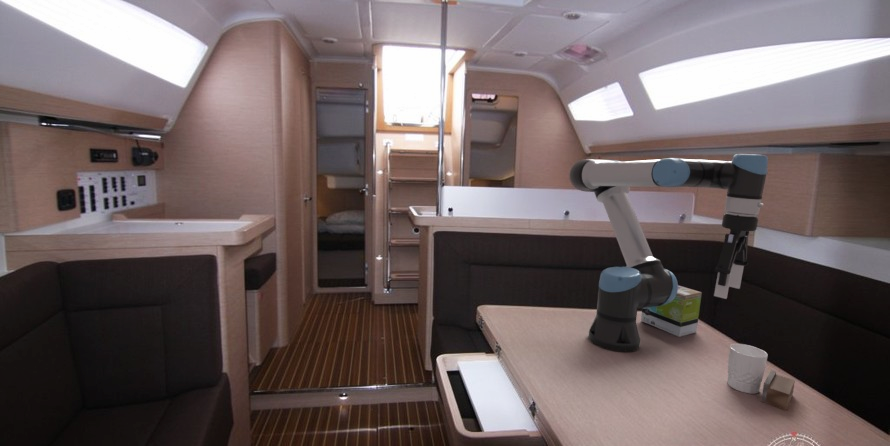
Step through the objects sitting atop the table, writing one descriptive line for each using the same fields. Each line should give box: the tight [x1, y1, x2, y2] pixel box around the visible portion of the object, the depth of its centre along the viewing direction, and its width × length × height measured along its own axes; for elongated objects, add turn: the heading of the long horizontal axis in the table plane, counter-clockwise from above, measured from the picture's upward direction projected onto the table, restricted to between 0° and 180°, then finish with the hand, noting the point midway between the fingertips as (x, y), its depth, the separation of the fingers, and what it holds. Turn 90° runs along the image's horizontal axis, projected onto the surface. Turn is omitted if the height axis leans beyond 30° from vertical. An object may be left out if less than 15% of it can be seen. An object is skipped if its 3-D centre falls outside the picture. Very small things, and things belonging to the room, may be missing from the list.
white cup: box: [726, 343, 769, 395], centre depth 107 cm, size 8×8×10 cm
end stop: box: [760, 369, 796, 411], centre depth 103 cm, size 5×10×5 cm, turn 134°
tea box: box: [640, 284, 703, 338], centre depth 146 cm, size 15×10×15 cm, turn 28°
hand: (727, 292), depth 113 cm, fingers open, 13 cm apart
